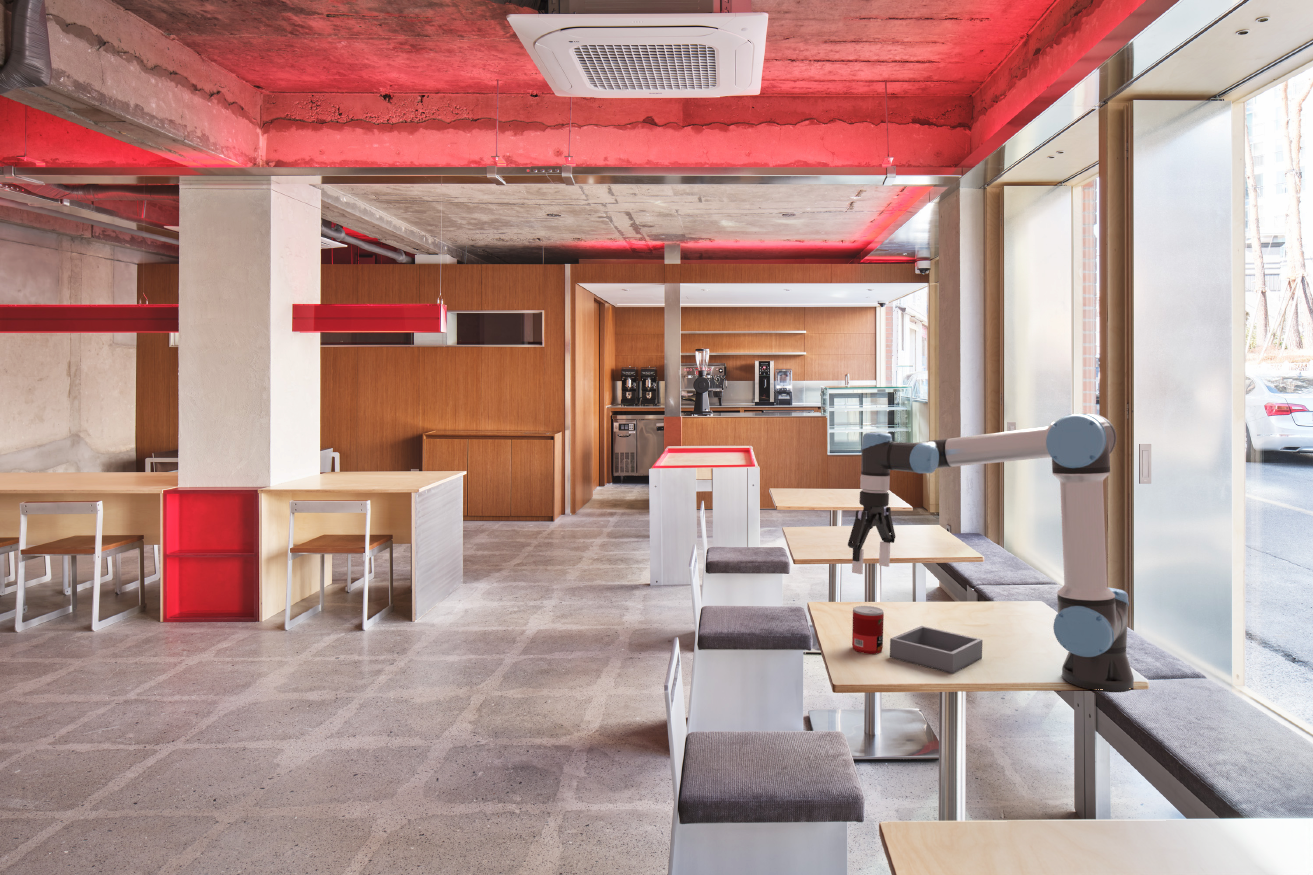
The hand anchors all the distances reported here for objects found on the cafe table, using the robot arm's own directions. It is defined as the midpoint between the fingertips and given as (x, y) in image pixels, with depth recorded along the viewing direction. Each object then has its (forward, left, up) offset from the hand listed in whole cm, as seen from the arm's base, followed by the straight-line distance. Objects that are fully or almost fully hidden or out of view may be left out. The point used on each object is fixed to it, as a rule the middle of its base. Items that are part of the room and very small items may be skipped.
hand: (870, 569), depth 215 cm
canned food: (0, 0, -22) cm, 22 cm away
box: (-16, -7, -22) cm, 28 cm away
